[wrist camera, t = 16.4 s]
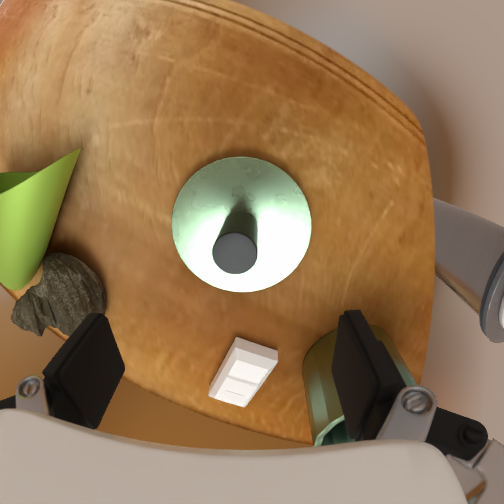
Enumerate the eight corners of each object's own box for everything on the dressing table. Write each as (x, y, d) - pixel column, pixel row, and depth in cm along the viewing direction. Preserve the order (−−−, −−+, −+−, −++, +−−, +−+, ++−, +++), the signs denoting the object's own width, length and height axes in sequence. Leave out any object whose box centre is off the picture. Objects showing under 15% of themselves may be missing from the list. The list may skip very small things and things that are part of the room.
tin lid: (309, 155, 23) (329, 157, 16) (307, 284, 27) (320, 327, 20) (169, 161, 23) (136, 167, 16) (183, 286, 27) (162, 328, 21)
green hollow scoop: (-30, 123, 12) (-31, 285, 20) (56, 158, 16) (39, 328, 24) (15, 112, 19) (-2, 253, 27) (95, 142, 23) (63, 288, 31)
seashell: (4, 236, 19) (4, 309, 22) (28, 319, 15) (35, 390, 18) (89, 235, 29) (76, 299, 32) (139, 298, 25) (119, 363, 28)
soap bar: (210, 385, 32) (207, 400, 30) (236, 336, 29) (234, 352, 27) (245, 396, 33) (245, 411, 30) (277, 350, 30) (278, 366, 27)
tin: (400, 319, 28) (443, 383, 18) (379, 385, 32) (404, 447, 22) (306, 327, 29) (323, 407, 18) (299, 395, 33) (308, 466, 22)
